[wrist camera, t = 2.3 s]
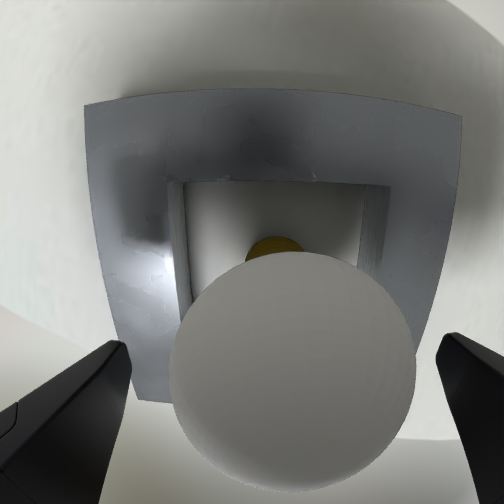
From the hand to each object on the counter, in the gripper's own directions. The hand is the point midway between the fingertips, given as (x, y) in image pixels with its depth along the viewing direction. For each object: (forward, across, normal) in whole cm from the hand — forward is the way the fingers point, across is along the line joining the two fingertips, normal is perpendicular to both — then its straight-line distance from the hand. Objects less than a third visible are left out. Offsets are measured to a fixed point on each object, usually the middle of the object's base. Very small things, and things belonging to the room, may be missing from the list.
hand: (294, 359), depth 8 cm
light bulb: (+7, 0, 0) cm, 7 cm away
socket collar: (+6, 0, 0) cm, 6 cm away
